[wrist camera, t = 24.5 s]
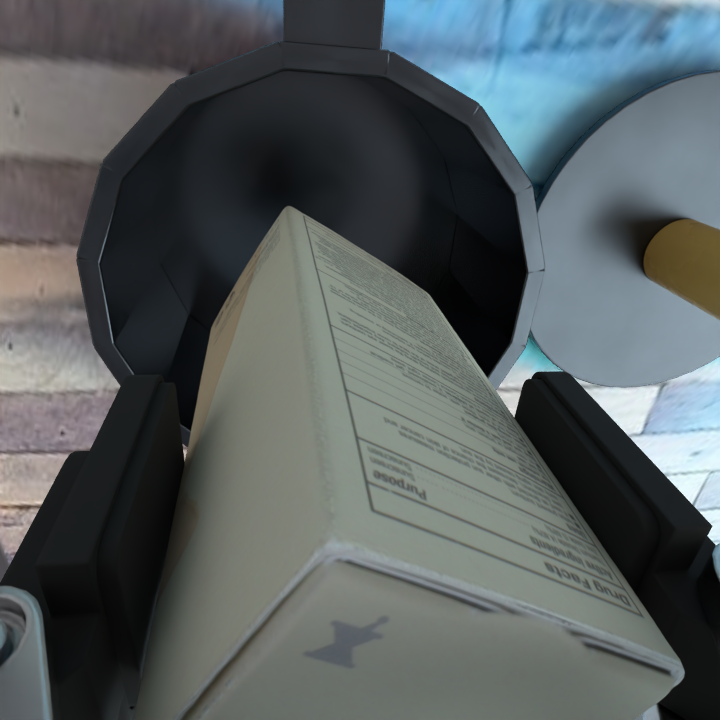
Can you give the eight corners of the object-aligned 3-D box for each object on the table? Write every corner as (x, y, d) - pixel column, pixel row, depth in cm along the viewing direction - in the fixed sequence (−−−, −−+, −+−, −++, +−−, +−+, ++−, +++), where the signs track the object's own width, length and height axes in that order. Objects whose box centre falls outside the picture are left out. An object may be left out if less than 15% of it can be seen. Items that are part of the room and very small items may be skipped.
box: (207, 327, 15) (73, 809, 5) (287, 196, 13) (307, 531, 4) (359, 405, 17) (463, 859, 7) (443, 299, 15) (715, 690, 6)
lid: (484, 377, 27) (535, 455, 21) (554, 54, 20) (655, 51, 15) (731, 375, 29) (832, 445, 24) (870, 83, 22) (1057, 90, 17)
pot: (168, 421, 25) (131, 544, 19) (105, -67, 16) (-6, -152, 10) (433, 415, 27) (481, 525, 21) (506, -22, 18) (631, -67, 12)
